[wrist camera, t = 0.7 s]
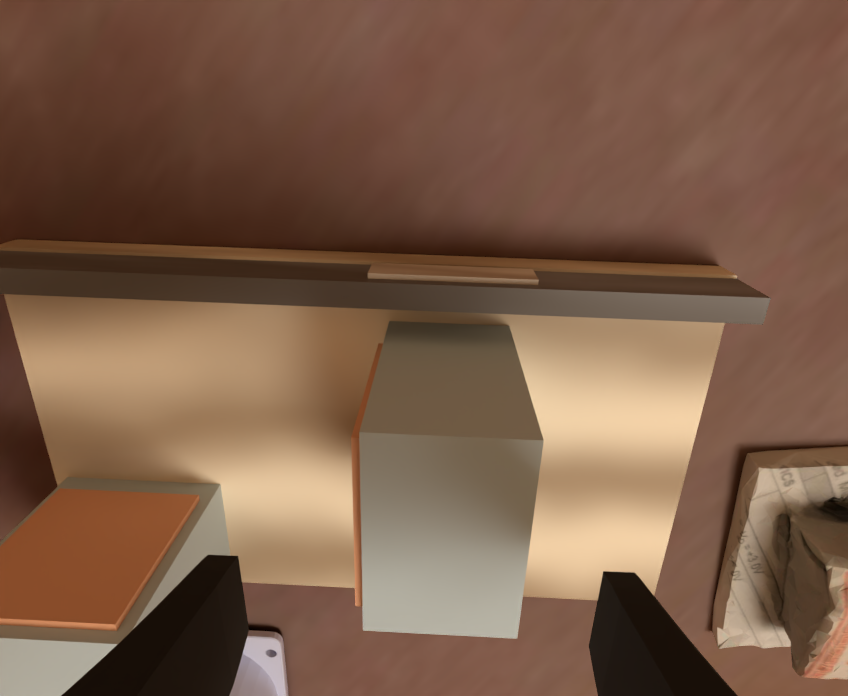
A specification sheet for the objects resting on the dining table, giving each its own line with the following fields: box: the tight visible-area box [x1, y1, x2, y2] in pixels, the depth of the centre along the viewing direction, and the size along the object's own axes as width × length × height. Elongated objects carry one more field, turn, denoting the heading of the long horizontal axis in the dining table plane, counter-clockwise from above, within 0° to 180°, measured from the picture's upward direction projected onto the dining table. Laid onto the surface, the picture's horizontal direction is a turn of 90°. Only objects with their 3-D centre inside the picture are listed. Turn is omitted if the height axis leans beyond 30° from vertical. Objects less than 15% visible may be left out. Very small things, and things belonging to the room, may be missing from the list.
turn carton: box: [351, 321, 544, 639], centre depth 16 cm, size 4×6×7 cm
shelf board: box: [0, 239, 771, 600], centre depth 20 cm, size 14×24×3 cm, turn 89°
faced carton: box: [0, 477, 230, 696], centre depth 19 cm, size 4×6×7 cm
